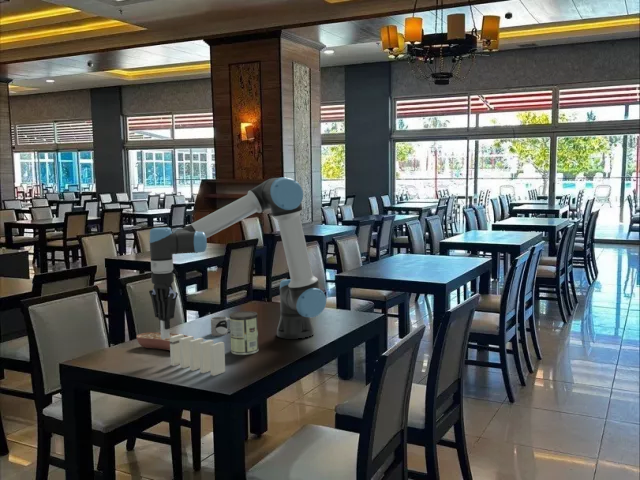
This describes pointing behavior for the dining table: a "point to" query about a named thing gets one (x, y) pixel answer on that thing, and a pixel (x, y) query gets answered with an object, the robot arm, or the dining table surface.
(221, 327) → the mug
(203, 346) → the domino
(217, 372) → the domino
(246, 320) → the coffee can
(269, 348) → the dining table surface
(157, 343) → the brown low oblong piece
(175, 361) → the domino
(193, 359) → the domino
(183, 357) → the domino
